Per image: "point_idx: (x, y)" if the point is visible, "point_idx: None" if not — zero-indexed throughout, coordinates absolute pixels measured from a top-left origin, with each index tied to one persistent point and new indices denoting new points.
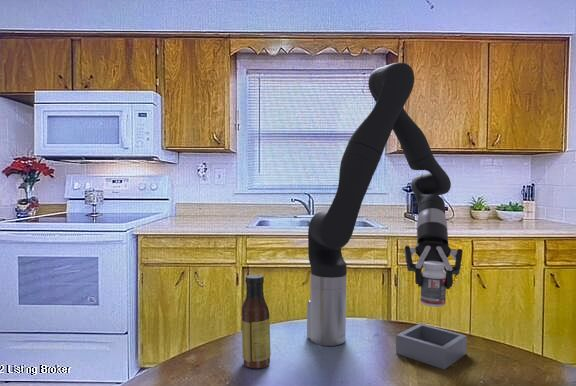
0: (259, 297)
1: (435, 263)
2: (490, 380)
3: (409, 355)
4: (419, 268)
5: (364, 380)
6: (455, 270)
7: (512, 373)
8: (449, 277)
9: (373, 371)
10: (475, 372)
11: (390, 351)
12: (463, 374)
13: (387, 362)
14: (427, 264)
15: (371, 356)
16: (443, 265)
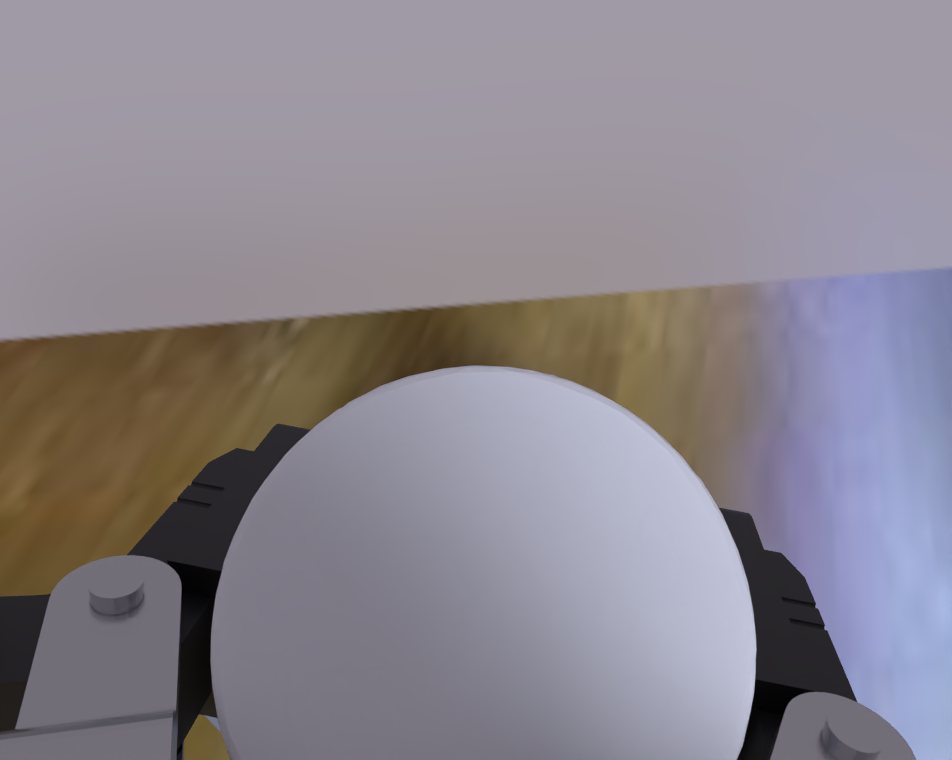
0: None
1: (472, 524)
2: (248, 330)
3: None
4: (797, 705)
5: (881, 282)
6: (2, 606)
7: (77, 419)
8: (235, 480)
9: (842, 378)
10: (285, 413)
11: None
12: (363, 384)
13: (765, 498)
14: (685, 471)
15: (863, 578)
16: (296, 455)
